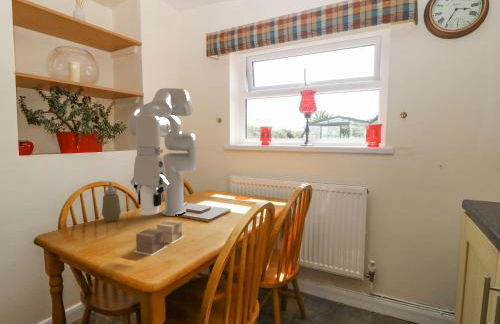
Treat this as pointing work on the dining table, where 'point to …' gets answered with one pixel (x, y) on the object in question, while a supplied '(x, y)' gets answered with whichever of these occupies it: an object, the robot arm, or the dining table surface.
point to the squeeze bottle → (111, 205)
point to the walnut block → (150, 240)
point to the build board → (160, 249)
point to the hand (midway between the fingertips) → (149, 204)
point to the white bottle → (148, 201)
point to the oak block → (171, 230)
